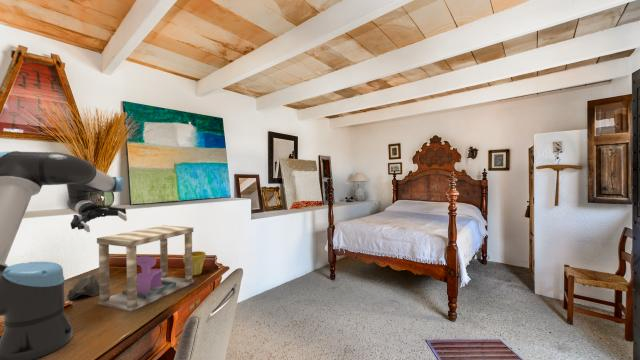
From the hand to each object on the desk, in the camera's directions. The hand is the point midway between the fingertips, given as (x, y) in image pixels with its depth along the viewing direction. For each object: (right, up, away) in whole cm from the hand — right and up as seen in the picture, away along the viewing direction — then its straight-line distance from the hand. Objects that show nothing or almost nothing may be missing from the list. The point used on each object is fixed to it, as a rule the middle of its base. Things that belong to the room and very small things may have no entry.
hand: (107, 223), depth 118 cm
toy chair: (+20, -27, -3) cm, 34 cm away
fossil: (-6, -29, -6) cm, 30 cm away
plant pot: (+28, -28, +19) cm, 44 cm away
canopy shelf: (+20, -28, -3) cm, 35 cm away
